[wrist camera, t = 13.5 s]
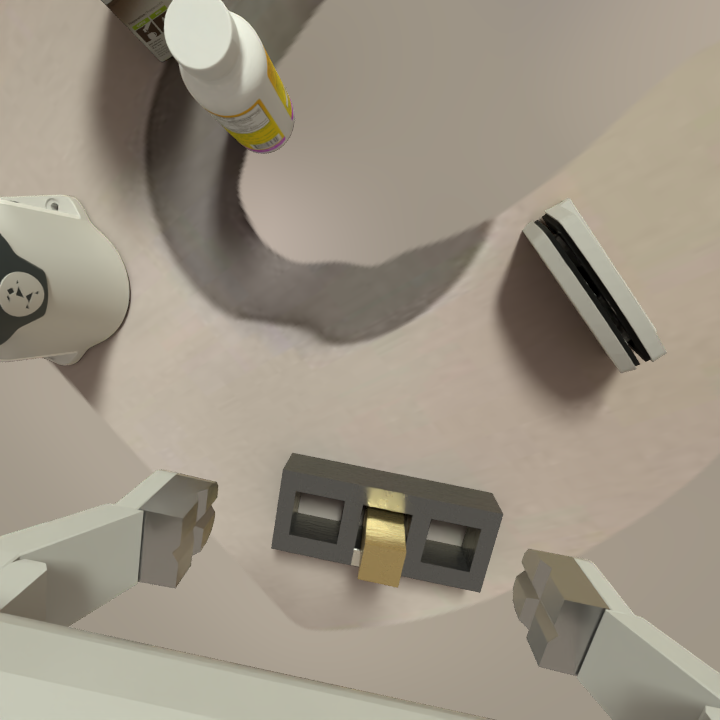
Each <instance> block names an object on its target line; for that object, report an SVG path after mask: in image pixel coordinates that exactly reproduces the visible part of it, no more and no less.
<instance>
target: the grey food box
mask: <svg viewBox="0 0 720 720" xmlns="http://www.w3.org/2000/svg"><path fill="white" fill-rule="evenodd" d="M101 1H102V2H103V3H104V4H105V5H106V6H107V7H108V8H109V9H110V10H111V11H112V12H113V13H114V14H115V15H116V16H117V17H118V18H119V19H120V20H121V21H122V22H123V23H124V24H125V25H126V26H127V27H128V28H129V30H130V31H131V32H132V33H133V34H134V35H135V36H136V37H137V38H138V39H139V40H140V41H141V42H142V43H143V44H144V45H145V46H146V47H147V48H148V49H149V50H150V51H151V52H152V53H153V54H154V55H155V56H156V57H157V59H158V60H159V61H161V62H163V61H165V60H167V59H168V58H170V57H171V56H173V55H172V54H171V52H170V50H169V48H168V46H167V43H166V40H165V34H164V20H165V15H166V12H167V10H168V7H169V5H170V4H171V2H172V1H173V0H101Z"/></svg>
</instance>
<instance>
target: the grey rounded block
mask: <svg viewBox="0 0 720 720" xmlns="http://www.w3.org/2000/svg"><path fill="white" fill-rule="evenodd" d="M544 212H545V213H546V214H545V215H544V216H542V218H543V219H544V221H545V222H546V223H547V225H548V226H549V228H550V229H551V231H553V232H554V233H555V235H553V234H552V233H551V232H550V230H549V229H547V228H546V227H545V226H544V225H543V224H542V223H540V222H539V221H538V220H537V221H535V222H533V221H532V220H531V221H530V222H529V223H528V224H527V225H526V226H525V228H524V229H523V230H522V231H523V233H524V234H525V235H526V237H527V238H528V240H529V241H530V243H531V244H532V246H533V247H534V249H535V250H536V252H537V253H538V254H539V256H540V257H541V259H542V260H543V262H544V263H545V265H546V266H547V268H548V269H549V271H550V272H551V273H552V275H553V276H554V278H555V279H556V281H557V282H558V284H559V285H560V287H561V288H562V290H563V291H564V292H565V294H566V295H567V297H568V298H569V300H570V301H571V303H572V304H573V306H574V307H575V309H576V310H577V311H578V313H579V314H580V316H581V317H582V319H583V320H584V322H585V323H586V325H587V326H588V328H589V329H590V330H591V332H592V333H593V335H594V336H595V338H596V339H597V341H598V342H599V344H600V345H601V347H602V348H603V350H604V351H605V352H606V354H607V355H608V357H609V358H610V359H611V361H612V362H613V363H614V365H615V366H616V367H617V369H618V370H619V371H620V373H623V372H627V371H631V370H636V367H635V366H637V365H640V363H639V361H638V360H637V358H636V357H635V355H634V353H633V352H632V350H631V349H630V347H631V348H632V349H633V350H634V351H635V352H636V353H637V354H638V355H639V356H640V357H641V358H642V359H643V360H644V361H645V362H646V361H649V360H651V361H652V362H654V361H655V360H657V359H658V358H660V357H661V356H663V355H664V354H666V353H667V352H666V350H665V348H664V346H663V345H662V343H661V341H660V339H659V338H658V336H657V334H656V332H657V330H656V328H655V327H654V325H653V324H652V322H651V321H650V319H649V318H648V316H647V315H646V313H645V312H644V310H643V309H642V307H641V306H640V304H639V303H638V301H637V300H636V298H635V297H634V295H633V294H632V292H631V290H630V289H629V287H628V286H627V284H626V283H625V281H624V280H623V278H622V277H621V275H620V274H619V272H618V271H617V269H616V268H615V266H614V265H613V263H612V262H611V260H610V259H609V257H608V256H607V254H606V253H605V251H604V249H603V248H602V246H601V245H600V243H599V242H598V240H597V239H596V237H595V236H594V234H593V233H592V231H591V230H590V228H589V227H588V225H587V224H586V222H585V221H584V219H583V218H582V216H581V215H580V213H579V212H578V210H577V208H576V207H575V205H574V204H573V202H572V201H571V199H570V198H567V199H565V200H563V201H562V202H561V203H559V204H557V205H555V206H553V207H551V208H549V209H547V210H545V211H544ZM556 233H557V234H556ZM576 267H583V268H584V270H585V271H586V273H587V274H588V276H589V277H590V279H591V280H592V282H593V283H594V285H595V286H596V288H597V289H598V291H599V296H598V298H597V297H596V296H595V294H594V293H593V291H592V290H591V288H590V287H589V285H588V284H587V282H586V281H585V280H584V278H583V277H582V275H581V274H580V272H579V271H578V269H577V268H576ZM628 345H629V346H630V347H629V346H628Z"/></svg>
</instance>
